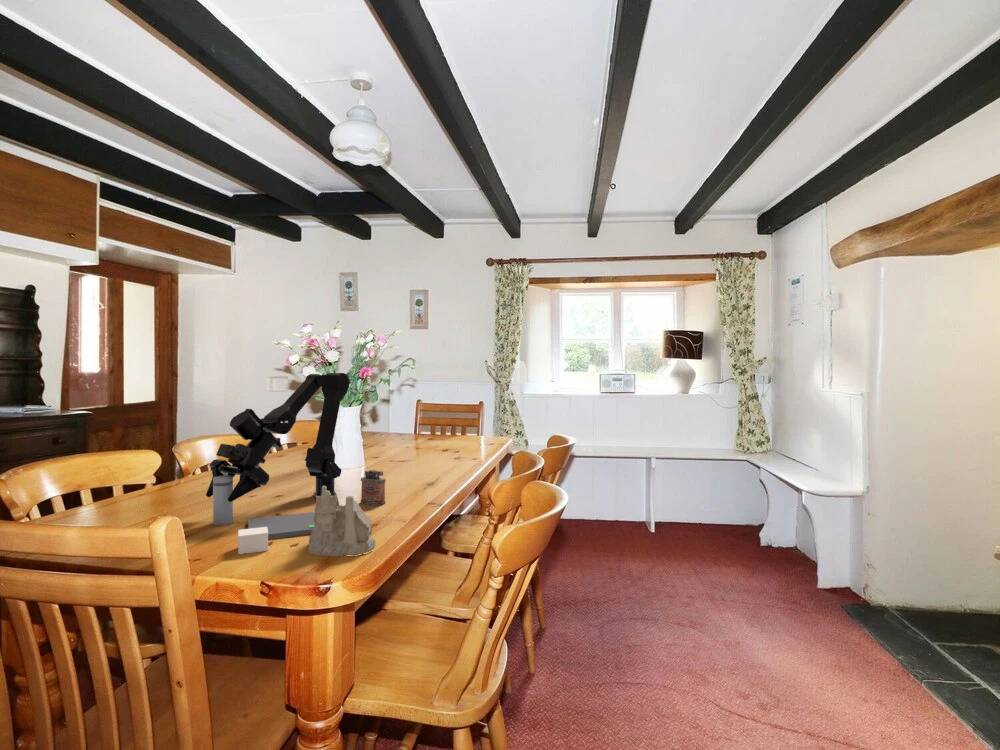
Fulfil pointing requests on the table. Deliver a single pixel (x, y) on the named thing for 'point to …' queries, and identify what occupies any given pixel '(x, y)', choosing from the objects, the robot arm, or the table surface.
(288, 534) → the charging mat
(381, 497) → the lighter
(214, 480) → the grey cylinder
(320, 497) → the stone castle ruin
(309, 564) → the table surface
